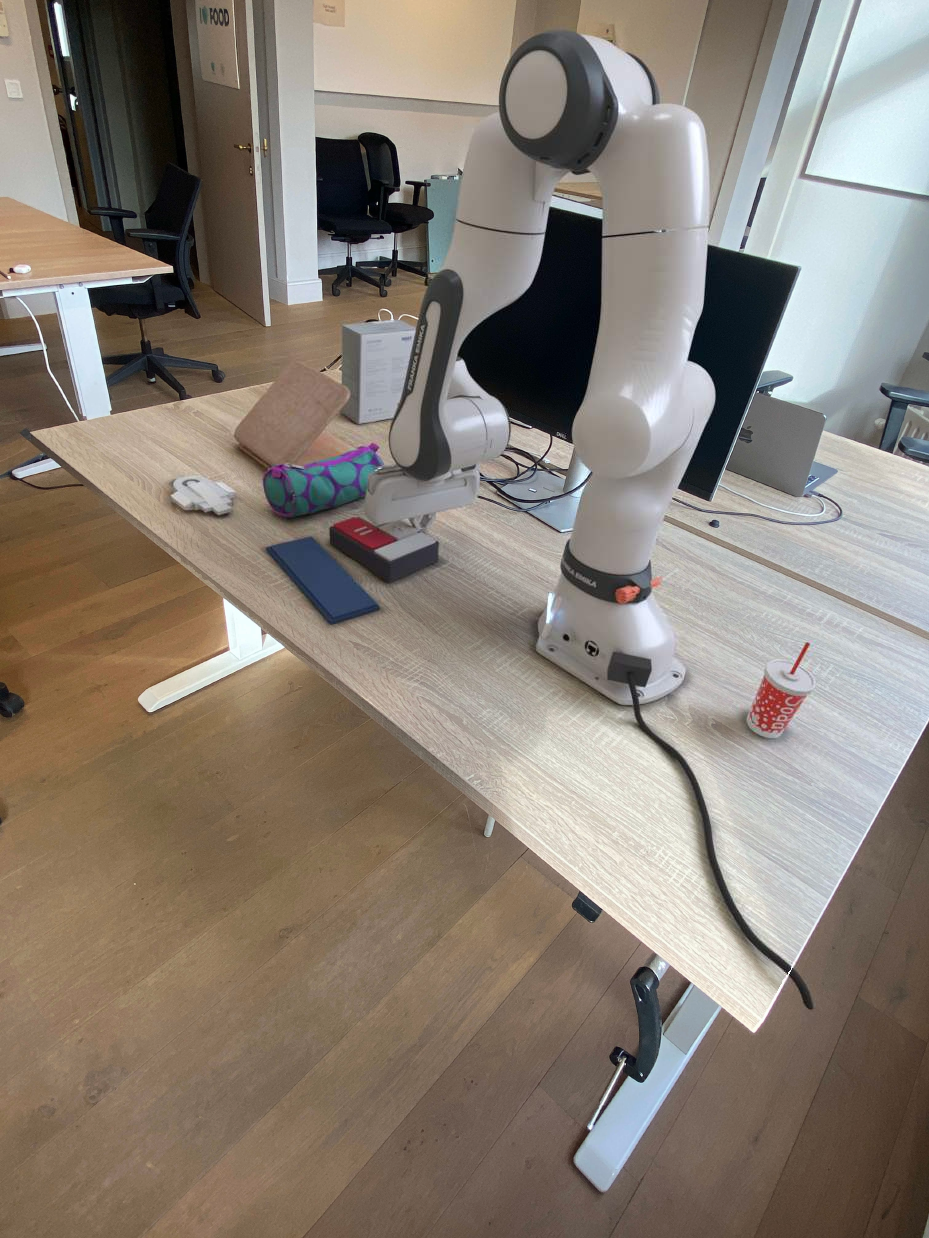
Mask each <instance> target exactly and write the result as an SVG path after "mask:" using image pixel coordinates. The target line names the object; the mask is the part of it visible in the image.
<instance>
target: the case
mask: <svg viewBox="0 0 929 1238" xmlns="http://www.w3.org/2000/svg"><path fill="white" fill-rule="evenodd" d="M349 398H350V391H349V389H348V388H347V387H346V386H344V385H342V383H341V382H338V381H337V380H335V379H334V378H332V377H330V376H328V375H327V374H325V373H324V372H321V371H320V370H317V369H315V368H313V367H311V366H310V365H308V364H306V363H304V362H302V361H298V360H296V361H293V362H290V363H289V364H288V365H286V367H285V368H284V369H283V370H282V372H281V373H280V374H279V375H278V377H276V379H275V380H274V382H273V383H272V384H271V385H270V386H269V387H268V388H267V390H266V391H265V392H264V393H263V394H262V396H260V398H259V399H258V401H256V403H255V404H254V406H252V408H251V409H250V410H249V411H248V413H247V414H246V415H245V416H244V418H243V419H242V420H241V421H240V423H238V425H237V426H236V427H235V430H234V431H233V437H234V439H235V441H236V442H238V444H237V446H238V448H239V449H240V450H241V451H242V452H243V453H245V454H247V455H248V456H249V457H251V458H252V459H254V460H255V461H256V462H258V463H259V464H260V465H261V466H263V467H264V468H266V469H267V470H268V469H270V468H271V467H273V466H274V465H276V464H285V463H290V464H293V465H299V466H304V465H309V464H311V463H314V462H317V461H321V460H324V459H328V458H332V457H335V456H338V455H342V454H345V453H347V452H348V451H352V450H356V449H357V448H358V447H356V446H355V445H353V444H351V443H350V442H349V441H347V440H345V439H344V438H342V437H340V436H338V435H336V434H335V433H334V432H331V431H330V430H328V429H326V428H327V427H328V425H329V424H330V423H331V422H332V421H333V419H335V417H336V416H337V415H338V414H339V413H340V411H342V408H343V407H344V406H345V404H346V403H347V402H348V400H349ZM288 465H289V464H288Z"/></svg>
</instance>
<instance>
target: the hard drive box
mask: <svg viewBox="0 0 929 1238" xmlns="http://www.w3.org/2000/svg"><path fill="white" fill-rule="evenodd" d="M416 327H417V326H414V325H412V324H409V323H407V322H405V321H403V320H401V319H389V320H377V321H369V322H357V323H348V324H341V384H342V385H344V386H346V387H347V388H348V389H349V391H350V398H349V400H348V402H347V403H346V404H345V406H344V407H343V408H342V409H341V414H342V415H343V416H345V417H346V418H348V419H349V420H351V421H352V422H354V423H355V424H357V425H362V424H367V423H375V422H378V421H379V422H380V421H383V420H384V421H385V420H389V419H393V417H394V415H395V412H396V410H397V407H398V405H399V402H400V399H401V395H402V391H403V387H404V383H405V378H406V373H407V368H408V364H409V359H410V354H411V350H412V345H413V340H414V336H415V331H416Z"/></svg>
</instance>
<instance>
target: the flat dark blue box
mask: <svg viewBox="0 0 929 1238" xmlns="http://www.w3.org/2000/svg"><path fill="white" fill-rule="evenodd" d="M265 551H266V552H267V553H268V554H269V555H270V556H271V558H272V560H274V561H275V562H276V564H278V566H279V567H280V568H281V569H282V571H284V573H285V574H286V575H287V576H288V577H289V578H290V580H291V581H292V582H293V583H294V585H295V586H296V587H297V588H298V589H299V590H300V591H301V592H302V593H303V594H304V596H305V597H306V598H307V599H308V600H309V602H310V603H311V605H313V606H314V607H315V608H316V609H317V611H318V612H319V613H320V614H321V615H322V616H323V617H324V619H325V620H326V621H327V622H328V624H329V625H333V624H337V623H341V622H343V621H346V620H349V619H353V618H357V617H360V616H363V615H366V614H369V613H373V612H375V611H376V612H377V611H379V610H380V608H381V607H380V605H379V604H378V603H377V602H376V601H375V599H373V598H372V597H371V596H370V594H369V593H367V591H365V590H364V588H363V587H361V585H360V584H359V583H358V582H357V581H356V580H355V579H354V578H353V577H352V576H351V575H350V574H349V573H348V572H347V571H346V570H345V569H344V568H343V567H342V566H341V565H340V564H339V563H338V562H337V561H336V560H335V558H334V557H332V556H331V554H330V553H328V551H327V550H326V549H325V548H324V547H323V546H322V545H320V543H319V542H318V541H317V540H316V539H315V538H314V537H313V536H307V537H302V538H298V539H294V540H290V541H284V542H280V543H276V544H271V545H269V546H267V547H265Z"/></svg>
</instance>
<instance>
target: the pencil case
mask: <svg viewBox="0 0 929 1238" xmlns="http://www.w3.org/2000/svg"><path fill="white" fill-rule="evenodd" d="M356 448H357V449H356V450H352V451H348V452H347V453H345V454H342V455H338V456H335V457H332V458H328V459H324V460H321V461H317V462H314V463H311V464H309V465H304V466H299V465H293V464H290V463H285V464H276V465H274V466H273V467H271V468H270V469H267V470H266V471H265V473H264V475H263V477H262V487H263V488H262V489H263V492H264V495H265V498H266V500H267V503H268V505H269V507H270V508H271V509H272V510H273V512H275V514H277V515H278V516H279V517H282V518H294V517H297V516H304V515H311V514H315V513H318V512H321V511H326V510H329V509H333V508H336V507H340V506H342V505H344V504H348V503H351V502H353V501H357V500H358V499H362V498H364V497H366V492H367V481H368V476H369V475H370V474H371V473H372V472H373V471H374V470H376V468H377V467H379V466H385V463H384V460H383V459H382V458H381V456H380V455H379V454H377V452H378V451H379V449H380V446H379V445H378V444H376V443H375V442H371V443H370V444H369V445H368V446H365V445H361V446H358V447H356ZM288 464H289V465H288ZM376 473H377V472H376Z"/></svg>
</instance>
